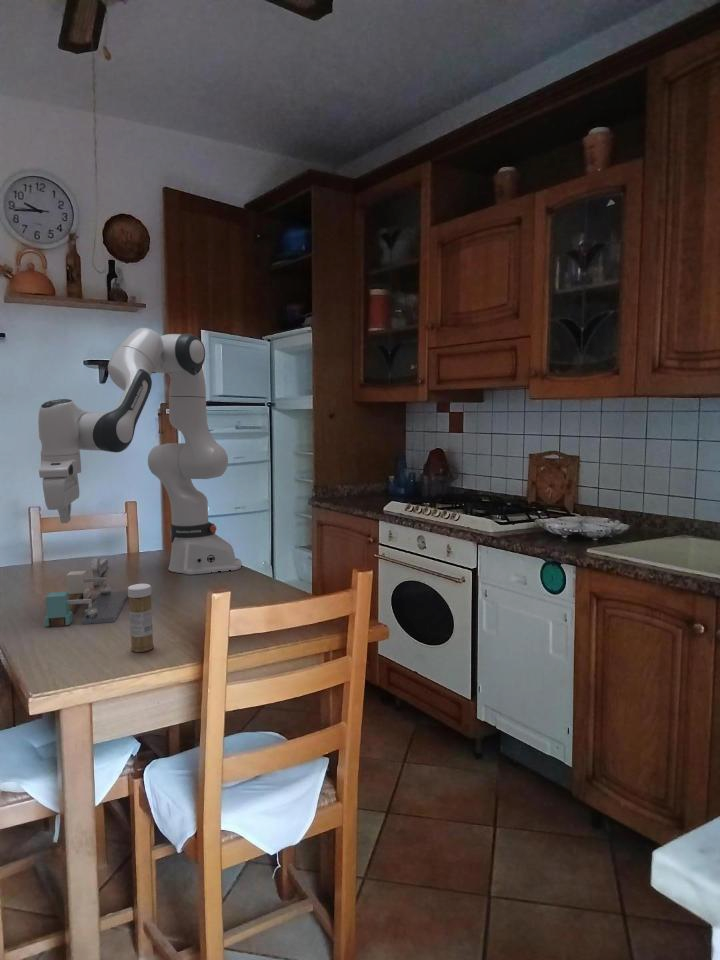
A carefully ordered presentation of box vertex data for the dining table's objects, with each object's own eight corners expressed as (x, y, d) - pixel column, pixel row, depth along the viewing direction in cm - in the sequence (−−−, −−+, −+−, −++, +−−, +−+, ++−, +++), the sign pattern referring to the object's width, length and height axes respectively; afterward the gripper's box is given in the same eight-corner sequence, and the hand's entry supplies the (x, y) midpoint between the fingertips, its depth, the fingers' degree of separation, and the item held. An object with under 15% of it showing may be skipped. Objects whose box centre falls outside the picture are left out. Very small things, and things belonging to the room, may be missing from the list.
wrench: (108, 576, 216) (98, 588, 188) (102, 576, 216) (91, 589, 187) (107, 550, 217) (97, 559, 188) (101, 551, 216) (89, 560, 187)
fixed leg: (108, 594, 182) (107, 569, 182) (106, 598, 178) (104, 573, 178) (68, 597, 180) (67, 571, 180) (65, 601, 176) (63, 575, 176)
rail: (84, 598, 180) (84, 590, 180) (64, 625, 157) (64, 617, 157) (72, 598, 180) (72, 591, 179) (50, 626, 157) (50, 618, 157)
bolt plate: (128, 595, 183) (127, 585, 182) (114, 622, 159) (113, 610, 159) (100, 596, 181) (100, 586, 181) (82, 624, 158) (82, 612, 158)
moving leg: (94, 618, 162) (92, 589, 161) (91, 623, 158) (89, 594, 157) (49, 621, 160) (47, 592, 159) (45, 626, 156) (43, 597, 155)
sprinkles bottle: (146, 643, 144) (143, 581, 143) (158, 648, 141) (155, 585, 140) (126, 649, 141) (123, 586, 140) (137, 654, 138) (134, 589, 136)
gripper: (57, 462, 176) (61, 515, 177) (36, 471, 156) (41, 530, 157) (83, 461, 177) (87, 514, 179) (66, 470, 157) (70, 529, 159)
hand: (65, 522), depth 168 cm, fingers closed
